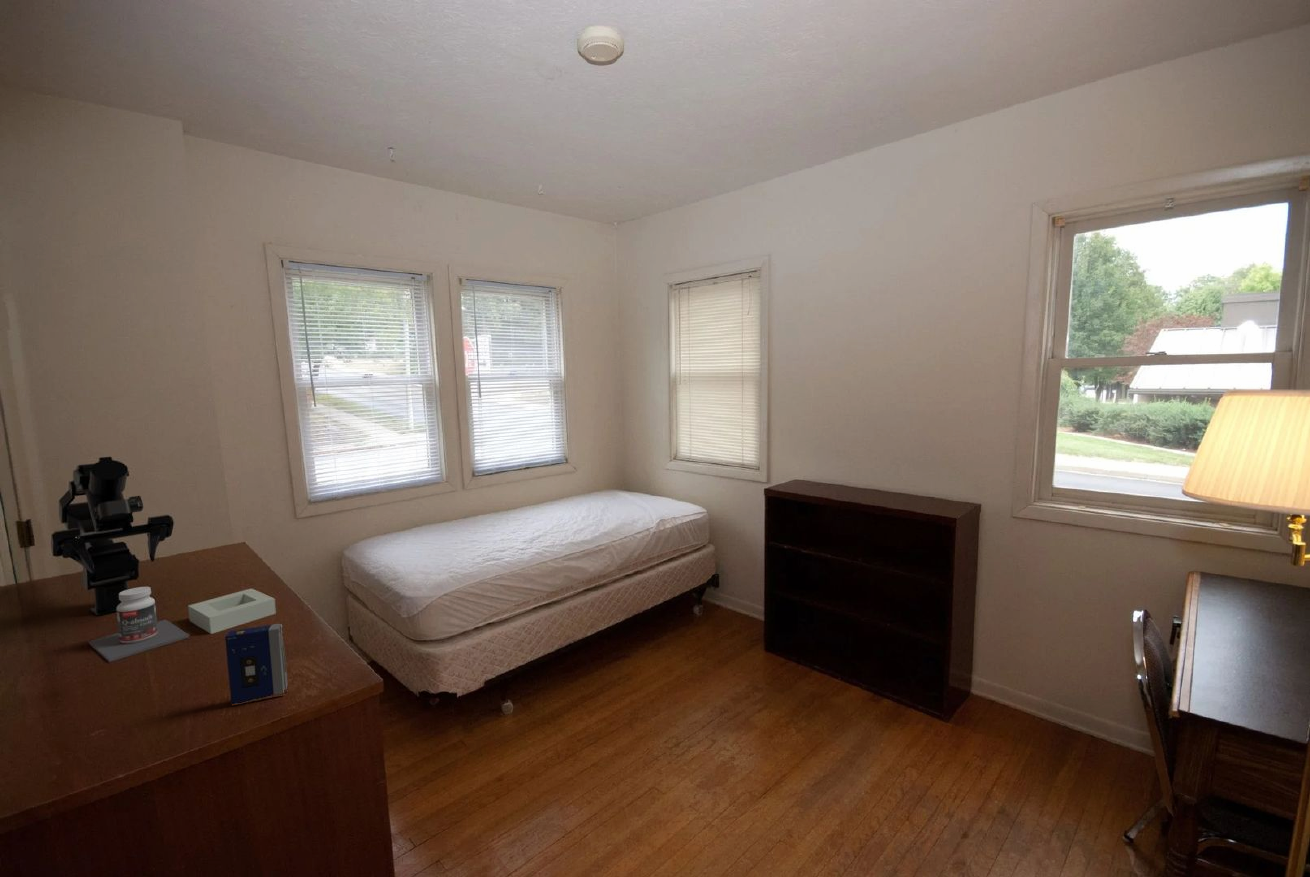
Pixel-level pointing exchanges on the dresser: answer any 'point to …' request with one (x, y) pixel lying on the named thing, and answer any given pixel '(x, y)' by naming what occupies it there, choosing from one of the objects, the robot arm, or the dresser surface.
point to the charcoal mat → (117, 650)
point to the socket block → (231, 610)
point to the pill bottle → (136, 615)
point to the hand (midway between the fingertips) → (124, 566)
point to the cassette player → (256, 662)
